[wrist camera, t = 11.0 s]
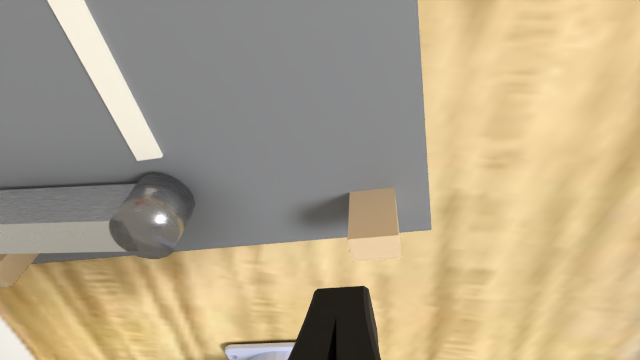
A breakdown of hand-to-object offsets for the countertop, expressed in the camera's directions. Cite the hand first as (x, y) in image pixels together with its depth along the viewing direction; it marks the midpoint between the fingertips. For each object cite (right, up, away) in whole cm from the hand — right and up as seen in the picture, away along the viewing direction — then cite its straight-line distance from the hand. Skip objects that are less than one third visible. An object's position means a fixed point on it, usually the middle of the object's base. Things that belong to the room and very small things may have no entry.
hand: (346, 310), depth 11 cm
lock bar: (-12, +2, +9) cm, 15 cm away
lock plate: (-9, +7, +7) cm, 13 cm away
